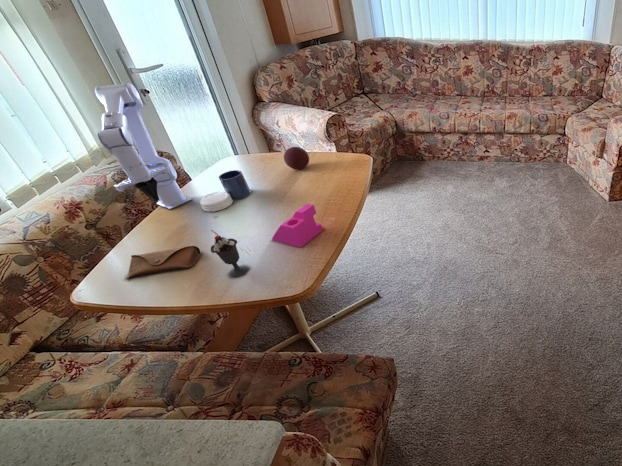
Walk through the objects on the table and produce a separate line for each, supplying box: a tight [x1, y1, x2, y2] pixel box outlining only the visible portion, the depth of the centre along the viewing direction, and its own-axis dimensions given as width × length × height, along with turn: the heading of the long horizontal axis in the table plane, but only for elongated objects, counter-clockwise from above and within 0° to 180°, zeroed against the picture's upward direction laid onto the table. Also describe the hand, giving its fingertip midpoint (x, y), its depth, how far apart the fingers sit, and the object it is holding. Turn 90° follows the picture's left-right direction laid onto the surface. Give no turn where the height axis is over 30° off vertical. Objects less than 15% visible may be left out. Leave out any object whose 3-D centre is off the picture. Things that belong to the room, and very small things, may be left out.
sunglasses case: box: [125, 245, 201, 280], centre depth 117 cm, size 18×7×7 cm, turn 107°
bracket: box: [271, 203, 324, 248], centre depth 126 cm, size 12×10×10 cm
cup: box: [218, 169, 252, 201], centre depth 150 cm, size 8×8×9 cm
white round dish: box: [199, 191, 234, 213], centre depth 145 cm, size 10×10×4 cm
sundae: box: [210, 229, 249, 278], centre depth 110 cm, size 7×7×15 cm
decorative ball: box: [283, 146, 310, 170], centre depth 168 cm, size 10×10×10 cm
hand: (155, 200), depth 132 cm, fingers closed
